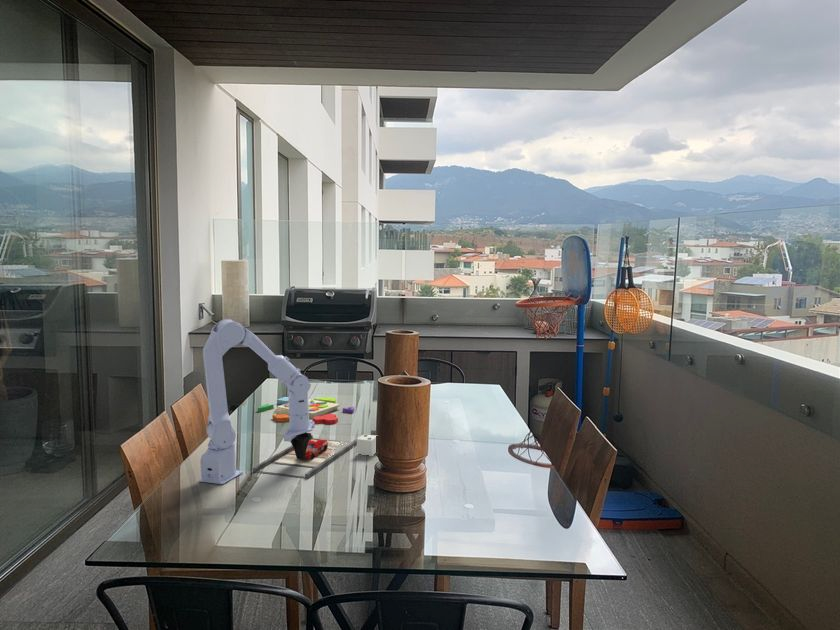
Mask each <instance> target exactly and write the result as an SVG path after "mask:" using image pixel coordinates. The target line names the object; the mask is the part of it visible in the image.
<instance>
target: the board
mask: <svg viewBox="0 0 840 630" xmlns="http://www.w3.org/2000/svg"><path fill="white" fill-rule="evenodd" d="M311 439H315V438H314V436H313V434H311V438H310V440H311ZM357 439H358V438H355V439H354V440H353V441H350V442H351V443H350V444H348V445H347V446H345V447H344V448H342V449H341V450H340V451H338V452H337V453H335V454H334V455H332V456H331V455H330V454H331V453H332V449H333V448H334V447H336V448H337V447H338V445H339V444H340V443H339V442H340V441H341V440H333V439H326V440H327V443H328V448H327V449H326V451H323V452H321V453H320V454H318V455H316V456H314V458H313V459H298V458H297V457H296V454H295V451H294V448H293V446H292V445H290V446H288V447H286V448H285V449H283V450H281V451H279V452H278V453H276V454H274V455H272V456H271V457H269V458H268V459H266V460H264V461H262V462H260V463H259V464H257V465H255V466H254V467H252V473H256V474H257V473H260V474H265V475H266V474H267V475H275V476H282V477H283V476H284V477H293V478H299V479H300V478H301V479H307V480H308V479H310V478H311V477H313V476H314V475H316V474H318V473H319V472H320V471H321V470H323V469H324V468H326V467H328V465H330V464H331V463H333V462H334V461H336V460H337V459H339V458H340V457H342V456H343V455H344V454H346V453H347V452H348V451H350V450H351V449H353V448H354V447H356V446H357V445H356V444H357ZM344 441H345V440H344ZM345 442H347V441H345ZM337 443H338V444H337ZM341 443H342V442H341ZM332 444H334V445H333V446H332ZM346 444H347V443H346ZM342 445H343V444H342ZM355 445H356V446H355ZM353 446H354V447H353ZM352 447H353V448H352ZM336 448H335V449H336ZM350 448H351V449H350ZM335 449H334V450H335ZM337 449H338V448H337ZM349 449H350V450H349ZM334 450H333V451H334ZM346 451H347V452H346ZM330 452H331V453H330ZM345 452H346V453H345ZM343 453H344V454H343ZM328 454H329V455H330V456H331V457H329V458H328V459H326V458H327V457H328ZM342 454H343V455H342ZM282 456H283V457H282ZM326 456H327V457H326ZM339 456H340V457H339ZM325 457H326V458H325ZM336 458H337V459H336ZM277 459H278V460H277ZM325 459H326V460H325ZM335 459H336V460H335ZM333 460H334V461H333ZM332 461H333V462H332ZM274 463H275V464H274ZM329 463H330V464H329ZM271 464H274V465H283V464H284V465H285V466H293V467H302V468H311V469H310V470H308V471H307V472H306V473H304V476H303V475H295V474H290V473H289V474H288V473H287V474H286V473H279V472H271V471H270V472H269V471H262V469H264V468H265V467H268V466H269V465H271ZM325 466H326V467H325Z"/></svg>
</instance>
